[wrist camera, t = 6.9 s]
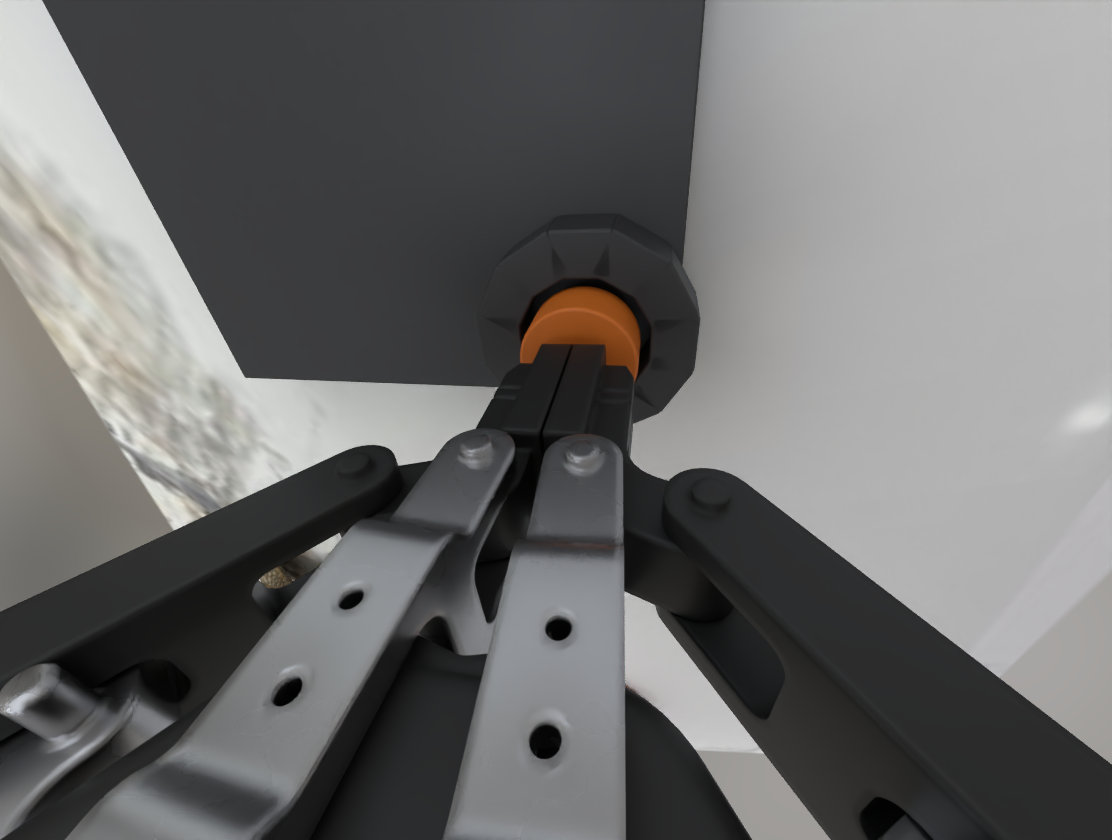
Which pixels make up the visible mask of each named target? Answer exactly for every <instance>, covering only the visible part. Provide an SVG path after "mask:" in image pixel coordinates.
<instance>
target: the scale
mask: <svg viewBox="0 0 1112 840" xmlns="http://www.w3.org/2000/svg"><path fill="white" fill-rule="evenodd" d="M42 1H43V3H44V4H45V6H46V8H47V10H48V12H49V14H50V16H51V17H52V19H53V21H54V23H55V25H56V27H57V29H58V30H59V32H60V34H61V36H62V38H63V40H64V42H65V43H66V45H67V47H68V49H69V51H70V53H71V55H72V56H73V58H74V60H75V62H76V64H77V66H78V68H79V70H80V71H81V73H82V75H83V77H84V79H85V81H86V83H87V84H88V86H89V88H90V90H91V92H92V94H93V96H94V97H95V99H96V101H97V103H98V105H99V107H100V109H101V110H102V112H103V114H104V116H105V118H106V120H107V122H108V123H109V125H110V127H111V129H112V131H113V133H114V135H115V136H116V138H117V140H118V142H119V144H120V146H121V148H122V149H123V151H124V153H125V155H126V157H127V159H128V161H129V163H130V164H131V166H132V168H133V170H134V172H135V174H136V176H137V177H138V179H139V181H140V183H141V185H142V187H143V189H144V190H145V192H146V194H147V196H148V198H149V200H150V202H151V203H152V205H153V207H154V209H155V211H156V213H157V215H158V216H159V218H160V220H161V222H162V224H163V226H164V228H165V229H166V231H167V233H168V235H169V237H170V239H171V241H172V242H173V244H174V246H175V248H176V250H177V252H178V254H179V256H180V257H181V259H182V261H183V263H184V265H185V267H186V269H187V270H188V272H189V274H190V276H191V278H192V280H193V282H194V283H195V285H196V287H197V289H198V291H199V293H200V295H201V296H202V298H203V300H204V302H205V304H206V306H207V308H208V309H209V311H210V313H211V315H212V317H213V319H214V321H215V322H216V324H217V326H218V328H219V330H220V332H221V334H222V335H223V337H224V339H225V341H226V343H227V345H228V347H229V349H230V350H231V352H232V354H233V356H234V358H235V360H236V362H237V363H238V365H239V367H240V369H241V371H242V373H243V375H244V376H245V377H246V378H268V379H295V380H322V381H349V382H375V383H402V384H429V385H456V386H483V387H499V386H500V384H501V382H502V380H503V378H504V376H505V375H506V373H508V372H509V371H510V370H512V369H513V368H514V367H516V366H517V365H518V364H520V348H521V344H522V341H523V338H524V336H525V334H526V332H527V330H528V328H529V327H530V325H531V323H532V321H533V319H534V317H535V316H536V314H537V312H538V310H539V309H540V307H541V306H542V305H543V303H544V302H545V301H546V300H547V299H549V298H550V297H551V296H553V295H554V294H556V293H558V292H560V291H562V290H564V289H567V288H571V287H577V286H590V287H596V288H600V289H603V290H606V291H608V292H610V293H612V294H614V295H615V296H617V297H619V298H620V299H621V300H622V301H623V302H625V303H626V305H627V306H628V307H629V308H630V309H631V311H632V312H633V314H634V316H635V318H636V320H637V322H638V325H639V329H640V338H641V342H640V353H639V365H638V373H637V377H636V380H635V382H634V395H633V424H634V423H636V422H639V421H641V420H644V419H646V418H648V417H651V416H653V415H656V414H658V413H659V412H661V411H662V410H663V409H664V408H665V406H666V405H667V404H668V403H669V402H670V400H671V399H672V398H673V397H674V395H675V394H676V393H677V392H678V391H679V389H680V388H681V387H682V386H683V384H684V383H685V382H686V381H687V380H688V378H689V377H690V376H691V375H692V373H693V371H694V368H695V360H696V351H697V342H698V334H699V325H700V314H699V308H698V302H697V296H696V292H695V290H694V288H693V286H692V284H691V282H690V280H689V278H688V276H687V274H686V273H685V271H684V269H683V267H682V264H683V252H684V241H685V229H686V218H687V206H688V195H689V183H690V172H691V160H692V148H693V137H694V125H695V114H696V102H697V91H698V79H699V68H700V56H701V45H702V33H703V21H704V10H705V0H42Z"/></svg>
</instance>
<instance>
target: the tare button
mask: <svg viewBox="0 0 1112 840" xmlns="http://www.w3.org/2000/svg"><path fill="white" fill-rule="evenodd" d="M640 342H641V338H640V329H639V325H638V322H637V320H636V318H635V316H634V314H633V312H632V311H631V309H630V308H629V307H628V306H627V305H626V303H625V302H623V301H622V300H621V299H620V298H619V297H617V296H615V295H614V294H612V293H610V292H608V291H606V290H603V289H600V288H596V287H590V286H577V287H571V288H567V289H564V290H562V291H560V292H558V293H556V294H554V295H553V296H551V297H550V298H549V299H547V300H546V301H545V302H544V303H543V305H542V306H541V307H540V309H539V310H538V312H537V314H536V316H535V317H534V319H533V321H532V323H531V325H530V327H529V328H528V330H527V332H526V334H525V336H524V338H523V341H522V344H521V348H520V363H533V361H534V359H535V357H536V354H537V352H538V350H539V348H540V346H541V344H573V345H574V344H604V345H605V346H606V365H620V366H627V368H628V369H629V371H630V372H631V374H632V375H633V377H634V382H635V380H636V377H637V373H638V365H639V353H640Z"/></svg>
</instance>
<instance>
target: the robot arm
mask: <svg viewBox="0 0 1112 840" xmlns="http://www.w3.org/2000/svg"><path fill="white" fill-rule="evenodd" d="M633 395H634V377H633V375H632V374H631V372H630V371H629V369H628V368H627V366H620V365H606V346H605V345H604V344H574V345H573V344H541V346H540V348H539V350H538V352H537V354H536V357H535V359H534V361H533V363H520V364H518V365H517V366H516V367H514V368H513V369H512V370H510V371H509V372H508V373H506V375H505V376H504V378H503V380H502V382H501V384H500V386H499V388H498V389H497V391H496V393H495V395H494V399H492V400H491V402H490V404H489V405H488V407H487V409H486V411H485V413H484V415H483V416H482V418H481V420H480V422H479V424H478V425H477V427H476V429H474V430H470V431H466V432H463V433H461V434H459V435H457V436H455V437H453V438H452V439H450V440H449V441H448V442H447V443H446V444H445V445H444V446H443V447H442V449H441V450H440V452H439V453H438V454H437V456H436V457H435V458H434V460H432V461H427V462H420V463H414V464H408V465H401V466H398V464H397V461H396V458H395V455H394V454H393V452H392V451H391V450H390V449H388V448H386V447H383V446H378V445H366V446H360V447H355V448H352V449H349V450H346V451H344V452H342V453H339V454H337V455H335V456H333V457H331V458H329V459H327V460H324V461H322V462H320V463H318V464H316V465H314V466H312V467H309V468H307V469H305V470H303V471H301V472H299V473H297V474H294V475H292V476H290V477H288V478H286V479H284V480H282V481H279V482H277V483H275V484H273V485H271V486H269V487H267V488H264V489H262V490H260V491H258V492H256V493H254V494H252V495H249V496H247V497H245V498H243V499H241V500H239V501H237V502H234V503H232V504H230V505H228V506H226V507H224V508H222V509H219V510H217V511H215V512H213V513H211V514H209V515H207V516H204V517H202V518H200V519H198V520H196V521H194V522H192V523H189V524H187V525H185V526H183V527H181V528H179V529H177V530H174V531H172V532H171V533H168V534H166V535H164V536H162V537H159V538H157V539H155V540H153V541H151V542H149V543H147V544H144V545H142V546H140V547H138V548H136V549H134V550H132V551H129V552H127V553H125V554H123V555H121V556H119V557H117V558H115V559H112V560H110V561H108V562H106V563H104V564H102V565H100V566H98V567H96V568H93V569H91V570H89V571H87V572H85V573H83V574H80V575H78V576H76V577H74V578H72V579H70V580H68V581H65V582H63V583H61V584H59V585H57V586H55V587H53V588H50V589H48V590H46V591H44V592H42V593H40V594H37V595H35V596H33V597H31V598H29V599H27V600H25V601H22V602H20V603H18V604H16V605H14V606H12V607H10V608H7V609H5V610H3V611H1V612H0V840H752V839H751V837H750V836H749V834H748V832H747V831H746V829H745V828H744V826H743V825H742V823H741V821H740V820H739V818H738V816H737V815H736V813H735V812H734V810H733V809H732V807H731V805H730V804H729V802H728V800H727V799H726V797H725V796H724V794H723V793H722V791H721V789H720V788H719V786H718V785H717V783H716V782H715V780H714V778H713V777H712V775H711V773H710V772H709V770H708V769H707V767H706V765H705V764H704V762H703V761H702V759H701V758H700V756H699V755H698V753H697V752H696V750H695V749H694V748H693V746H692V745H691V744H690V743H689V741H688V740H687V739H686V738H685V736H684V735H683V734H682V733H681V731H680V730H679V729H678V728H677V727H676V726H675V725H674V724H673V723H672V722H671V721H670V720H669V719H668V718H667V717H666V716H665V715H664V714H663V713H662V712H661V711H659V710H658V709H657V708H656V707H654V706H653V705H652V704H651V703H649V702H648V701H647V700H646V699H644V698H642V697H641V696H639V695H638V694H636V693H634V692H633V691H631V690H630V689H628V688H626V687H625V631H624V591H625V592H628V593H630V594H632V595H634V596H636V597H639V598H641V599H643V600H645V601H648V602H650V603H652V604H654V605H655V606H656V610H657V613H658V615H659V617H660V618H661V620H662V622H663V623H664V624H665V625H666V627H667V628H668V629H669V631H670V632H671V633H672V635H673V636H674V637H675V638H676V640H677V641H678V642H679V644H680V645H681V646H682V647H683V649H684V650H685V651H686V653H687V654H688V655H689V657H690V658H691V659H692V660H693V662H694V663H695V664H696V666H697V667H698V668H699V670H700V671H701V672H702V673H703V675H704V676H705V677H706V679H707V680H708V681H709V682H710V684H711V685H712V686H713V688H714V689H715V690H716V692H717V693H718V694H719V695H720V697H721V698H722V699H723V701H724V702H725V703H726V704H727V706H728V707H729V708H730V710H731V711H732V712H733V714H734V715H735V716H736V717H737V719H738V720H739V721H740V723H741V724H742V725H743V726H744V728H745V729H746V730H747V732H748V733H749V734H750V736H751V737H752V738H753V739H754V741H755V742H756V743H757V745H758V746H759V747H760V748H761V750H762V751H763V752H764V754H765V755H766V756H767V758H768V759H769V760H770V761H771V763H772V764H773V765H774V767H775V768H776V769H777V770H778V772H779V773H780V774H781V776H782V777H783V778H784V780H785V781H786V782H787V783H788V785H789V786H790V787H791V789H792V790H793V791H794V793H795V794H796V795H797V796H798V798H799V799H800V800H801V802H802V803H803V804H804V805H805V807H806V808H807V809H808V811H809V812H810V813H811V815H812V816H813V817H814V818H815V820H816V821H817V822H818V824H819V825H820V826H821V827H822V829H823V830H824V831H825V833H826V834H827V835H828V837H829V838H830V839H831V840H1112V764H1110V763H1109V762H1108V761H1106V760H1105V759H1103V758H1102V757H1101V756H1100V755H1099V754H1097V753H1096V752H1094V751H1093V750H1092V749H1091V748H1089V747H1088V746H1087V745H1085V744H1084V743H1083V742H1082V741H1080V740H1079V739H1078V738H1076V737H1075V736H1074V735H1073V734H1071V733H1070V732H1069V731H1067V730H1066V729H1065V728H1063V727H1062V726H1061V725H1059V724H1058V723H1057V722H1056V721H1054V720H1053V719H1052V718H1051V717H1049V716H1048V715H1047V714H1045V713H1044V712H1043V711H1041V710H1040V709H1039V708H1037V707H1036V706H1035V705H1033V704H1032V703H1031V702H1030V701H1028V700H1027V699H1026V698H1025V697H1023V696H1022V695H1021V694H1019V693H1018V692H1017V691H1015V690H1014V689H1013V688H1012V687H1010V686H1009V685H1007V684H1006V683H1005V682H1004V681H1002V680H1001V679H1000V678H999V677H997V676H996V675H995V674H993V673H992V672H991V671H989V670H988V669H987V668H986V667H984V666H983V665H982V664H980V663H979V662H978V661H976V660H975V659H974V658H973V657H971V656H970V655H969V654H967V653H966V652H965V651H963V650H962V649H961V648H960V647H958V646H957V645H956V644H954V643H953V642H952V641H950V640H949V639H948V638H947V637H945V636H944V635H943V634H941V633H940V632H939V631H937V630H936V629H935V628H934V627H932V626H931V625H930V624H928V623H927V622H926V621H924V620H923V619H922V618H921V617H919V616H918V615H917V614H915V613H914V612H913V611H911V610H910V609H909V608H908V607H906V606H905V605H904V604H902V603H901V602H900V601H898V600H897V599H896V598H895V597H893V596H892V595H891V594H889V593H888V592H887V591H885V590H884V589H883V588H882V587H880V586H879V585H878V584H876V583H875V582H874V581H872V580H871V579H870V578H869V577H867V576H866V575H865V574H863V573H862V572H861V571H860V570H858V569H857V568H856V567H854V566H853V565H852V564H850V563H849V562H848V561H847V560H845V559H844V558H843V557H841V556H840V555H839V554H837V553H836V552H835V551H834V550H832V549H831V548H830V547H828V546H827V545H826V544H824V543H823V542H822V541H821V540H819V539H818V538H817V537H815V536H814V535H813V534H811V533H810V532H809V531H808V530H806V529H805V528H804V527H802V526H801V525H800V524H798V523H797V522H796V521H795V520H793V519H792V518H791V517H789V516H788V515H787V514H785V513H784V512H783V511H782V510H780V509H779V508H778V507H776V506H775V505H774V504H772V503H771V502H770V501H769V500H767V499H766V498H765V497H763V496H762V495H761V494H759V493H758V492H757V491H756V490H754V489H753V488H752V487H750V486H749V485H748V484H746V483H745V482H744V481H742V480H741V479H739V478H738V477H736V476H734V475H732V474H729V473H727V472H724V471H720V470H716V469H709V468H697V469H690V470H686V471H683V472H680V473H678V474H677V475H675V476H674V477H672V478H671V479H670V480H669V481H667V480H664V479H660V478H657V477H655V476H652V475H650V474H648V473H646V472H644V471H642V470H641V469H639V468H638V467H637V466H636V465H635V464H634V463H633V462H632V461H631V459H630V453H631V442H632V431H633ZM338 533H340V535H341V537H342V539H341V540H340V541H339V542H338V544H337V545H336V546H335V547H334V549H333V550H332V551H331V552H330V554H329V555H328V556H327V557H326V558H325V560H324V561H323V562H322V563H321V565H320V566H319V567H318V568H316V569H314V570H313V571H311V572H309V573H307V574H306V575H304V576H302V577H300V578H299V579H297V580H295V581H294V582H292V583H290V584H288V585H286V586H284V587H280V588H267V587H265V586H263V585H262V584H261V582H260V581H259V579H260V578H261V577H262V576H263V575H265V574H266V573H268V572H269V571H271V570H273V569H275V568H276V567H278V566H280V565H282V564H284V563H286V562H287V561H289V560H291V559H293V558H295V557H296V556H298V555H300V554H302V553H304V552H305V551H307V550H309V549H311V548H313V547H314V546H316V545H318V544H320V543H322V542H323V541H325V540H327V539H329V538H331V537H332V536H334V535H336V534H338Z"/></svg>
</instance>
